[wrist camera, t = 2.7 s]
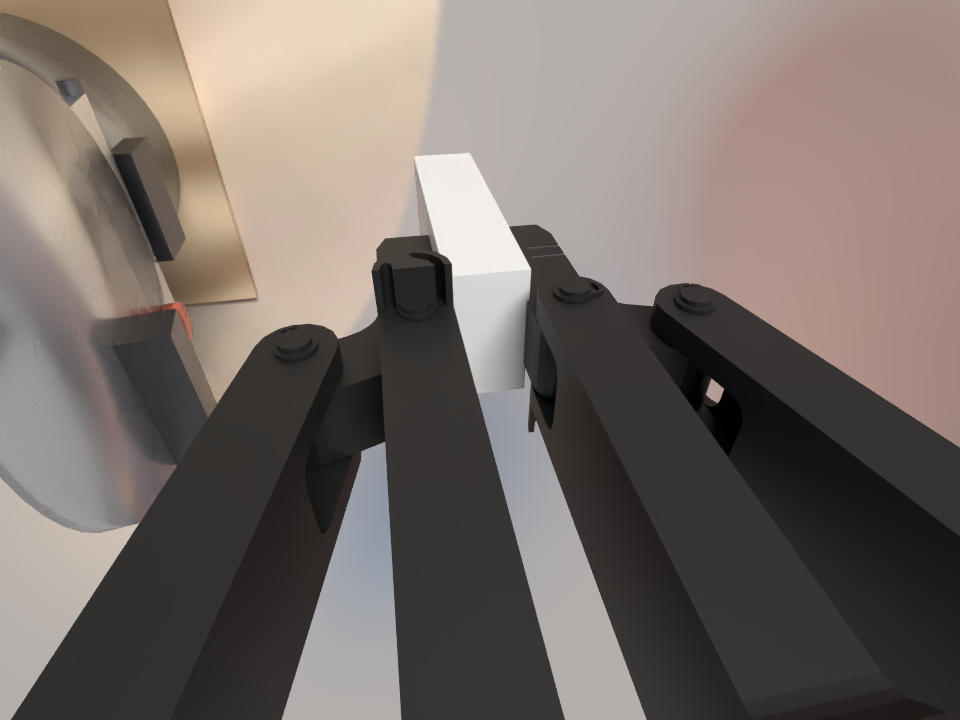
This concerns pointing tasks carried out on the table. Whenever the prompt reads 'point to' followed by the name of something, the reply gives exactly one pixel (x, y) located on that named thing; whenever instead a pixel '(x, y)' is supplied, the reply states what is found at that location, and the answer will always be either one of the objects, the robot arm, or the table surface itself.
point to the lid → (84, 322)
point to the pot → (109, 124)
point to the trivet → (172, 98)
